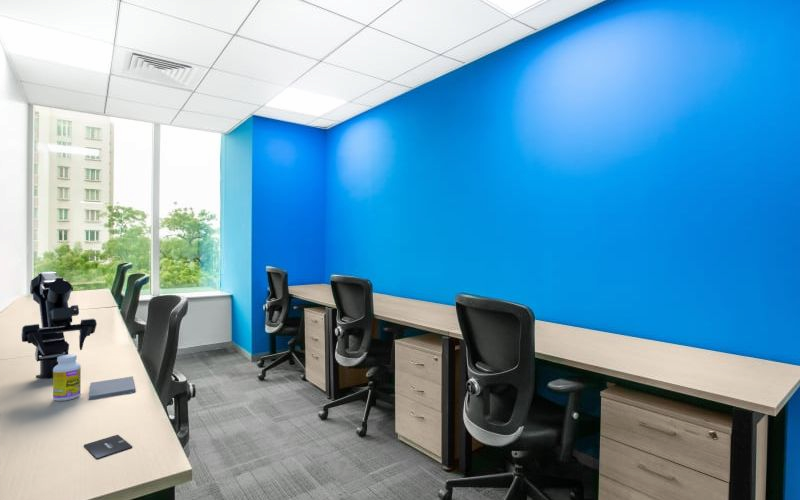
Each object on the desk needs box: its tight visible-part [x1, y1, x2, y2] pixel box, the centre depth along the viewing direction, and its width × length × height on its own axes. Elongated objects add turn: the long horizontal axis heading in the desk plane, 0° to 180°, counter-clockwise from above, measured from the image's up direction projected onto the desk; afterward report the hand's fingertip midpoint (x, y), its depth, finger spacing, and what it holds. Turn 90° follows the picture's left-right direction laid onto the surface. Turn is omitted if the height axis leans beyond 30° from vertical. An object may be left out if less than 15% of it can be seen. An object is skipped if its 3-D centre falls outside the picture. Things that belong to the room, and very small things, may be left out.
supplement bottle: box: [52, 353, 82, 402], centre depth 129 cm, size 7×7×13 cm
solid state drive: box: [83, 434, 133, 460], centre depth 97 cm, size 7×10×1 cm
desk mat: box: [88, 375, 137, 401], centre depth 137 cm, size 16×12×1 cm
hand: (63, 352), depth 134 cm, fingers open, 9 cm apart
